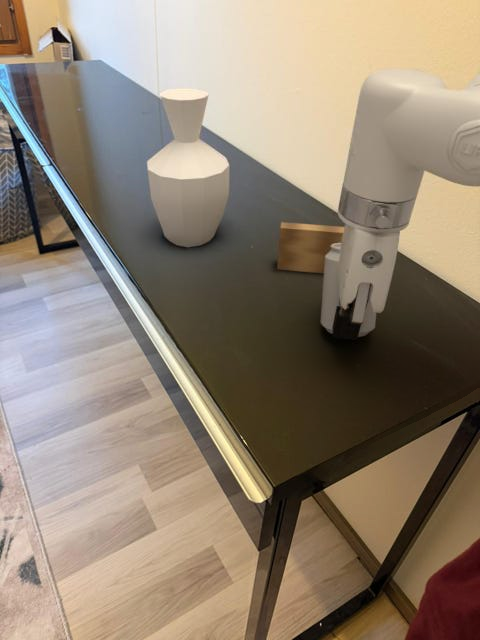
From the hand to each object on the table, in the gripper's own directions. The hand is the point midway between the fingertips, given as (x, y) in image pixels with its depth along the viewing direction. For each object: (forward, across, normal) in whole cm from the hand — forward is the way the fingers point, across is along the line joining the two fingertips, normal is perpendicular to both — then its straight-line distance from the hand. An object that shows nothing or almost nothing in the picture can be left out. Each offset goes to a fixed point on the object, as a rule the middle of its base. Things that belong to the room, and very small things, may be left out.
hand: (344, 334), depth 59 cm
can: (+3, +4, -1) cm, 5 cm away
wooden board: (+4, +21, +2) cm, 22 cm away
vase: (+5, +30, +26) cm, 40 cm away
